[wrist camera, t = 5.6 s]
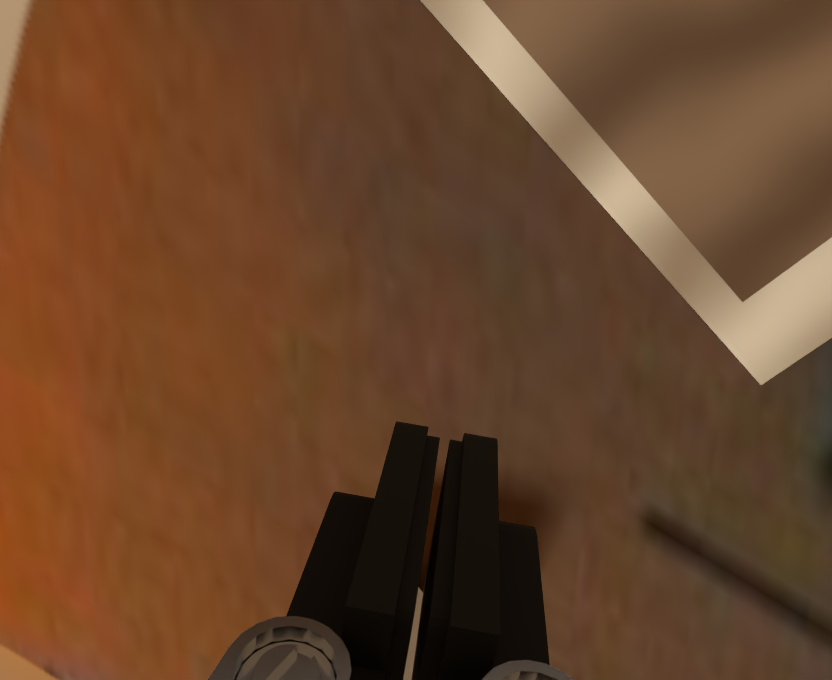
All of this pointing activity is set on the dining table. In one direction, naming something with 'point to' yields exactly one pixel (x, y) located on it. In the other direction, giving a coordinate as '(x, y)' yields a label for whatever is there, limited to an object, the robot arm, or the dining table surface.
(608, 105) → the serving tray
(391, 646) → the robot arm
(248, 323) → the dining table surface
